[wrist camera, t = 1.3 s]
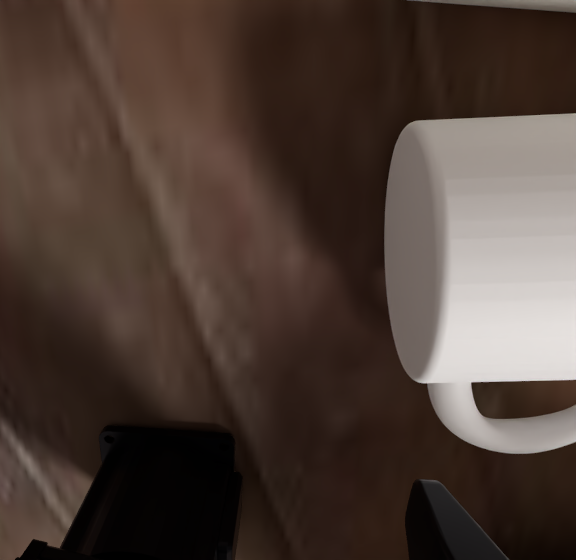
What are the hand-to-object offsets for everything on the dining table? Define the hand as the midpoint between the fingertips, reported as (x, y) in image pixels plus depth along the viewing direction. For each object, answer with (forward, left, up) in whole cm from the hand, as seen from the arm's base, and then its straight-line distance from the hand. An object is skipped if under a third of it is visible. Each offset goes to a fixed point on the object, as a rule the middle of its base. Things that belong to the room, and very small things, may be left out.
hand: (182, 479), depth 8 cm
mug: (+10, 0, -12) cm, 16 cm away
